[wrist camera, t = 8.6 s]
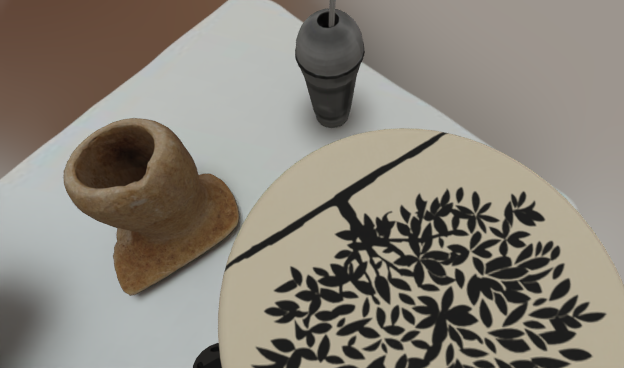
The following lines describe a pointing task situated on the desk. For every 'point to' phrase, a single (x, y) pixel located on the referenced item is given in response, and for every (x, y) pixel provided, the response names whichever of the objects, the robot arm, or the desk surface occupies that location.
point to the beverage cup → (330, 62)
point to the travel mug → (417, 264)
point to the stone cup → (148, 199)
